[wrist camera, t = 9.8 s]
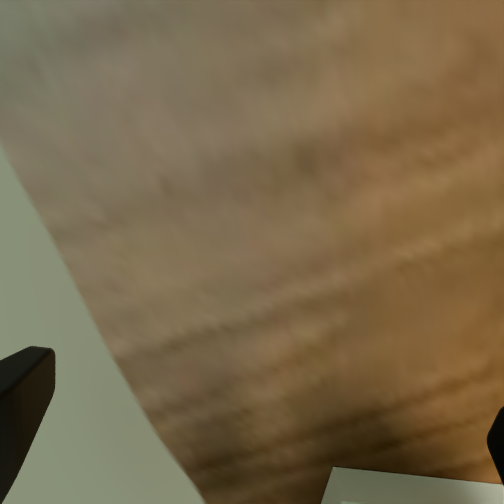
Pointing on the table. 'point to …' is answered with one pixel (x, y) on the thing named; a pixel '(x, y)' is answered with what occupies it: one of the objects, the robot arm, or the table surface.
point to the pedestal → (405, 489)
